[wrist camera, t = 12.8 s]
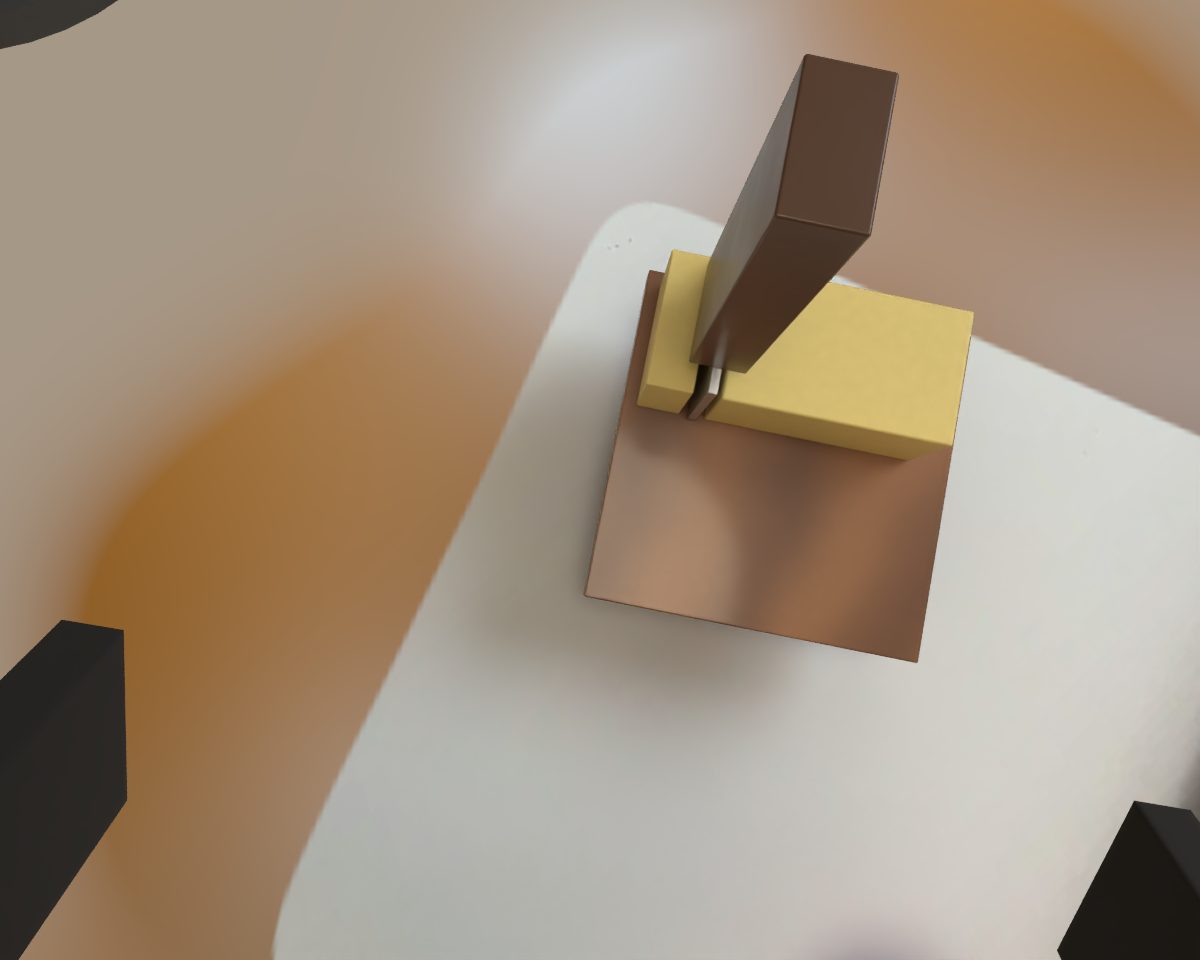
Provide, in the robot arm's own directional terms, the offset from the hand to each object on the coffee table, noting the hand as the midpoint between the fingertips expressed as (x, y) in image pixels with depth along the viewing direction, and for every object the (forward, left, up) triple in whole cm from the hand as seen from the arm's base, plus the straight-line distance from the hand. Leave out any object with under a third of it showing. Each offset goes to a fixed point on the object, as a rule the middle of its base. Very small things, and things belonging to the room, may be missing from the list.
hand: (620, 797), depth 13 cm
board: (+6, +8, -23) cm, 25 cm away
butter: (+5, +11, -21) cm, 25 cm away
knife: (+2, +11, -21) cm, 24 cm away
